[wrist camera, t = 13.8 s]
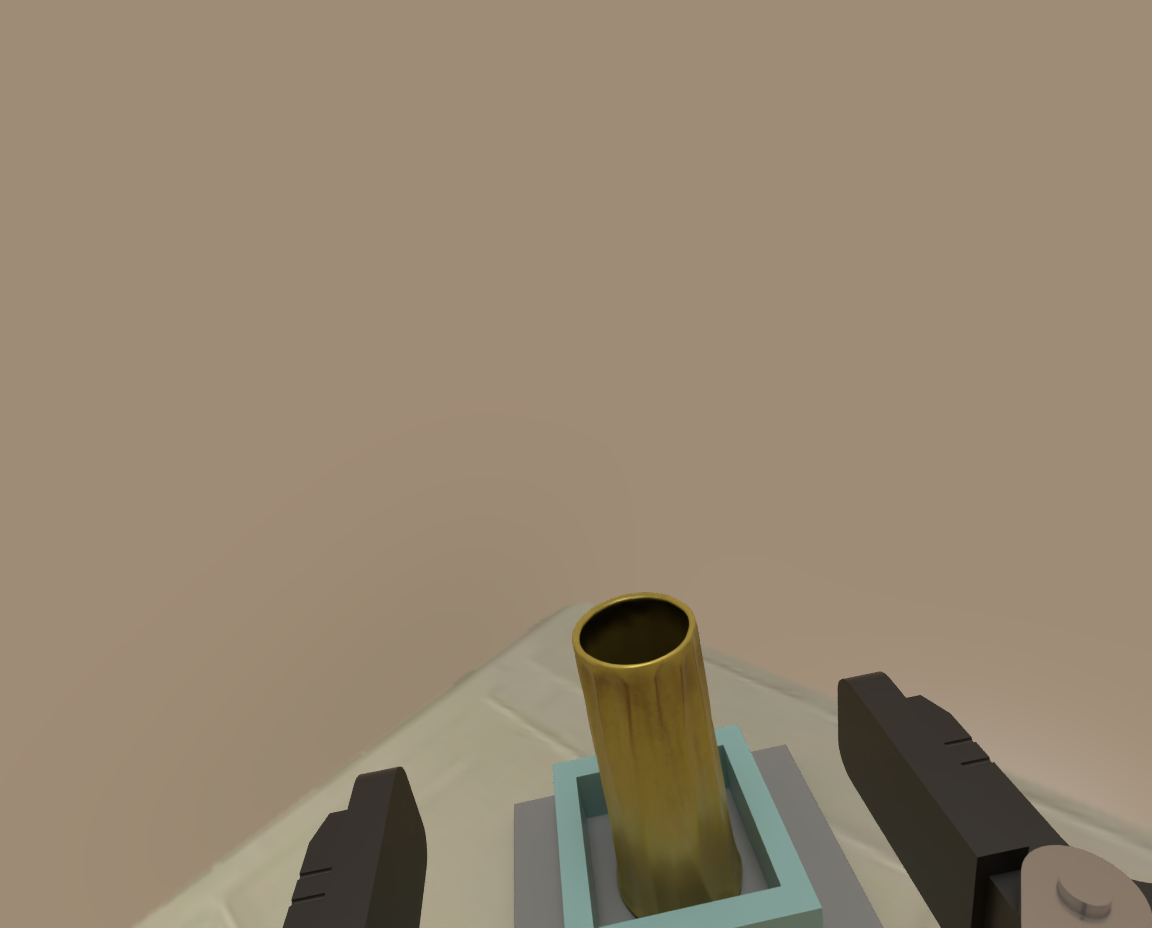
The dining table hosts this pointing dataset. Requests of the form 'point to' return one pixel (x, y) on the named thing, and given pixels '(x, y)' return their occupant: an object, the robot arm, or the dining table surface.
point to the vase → (657, 753)
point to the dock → (761, 832)
